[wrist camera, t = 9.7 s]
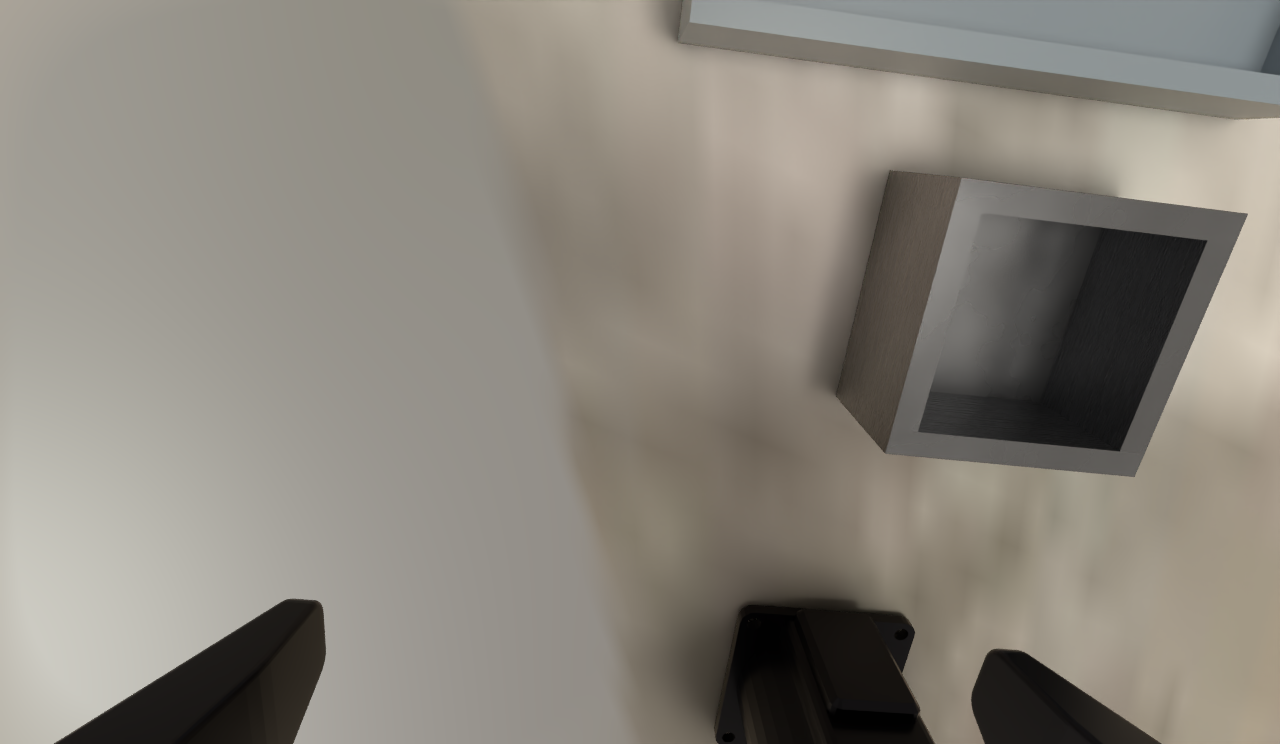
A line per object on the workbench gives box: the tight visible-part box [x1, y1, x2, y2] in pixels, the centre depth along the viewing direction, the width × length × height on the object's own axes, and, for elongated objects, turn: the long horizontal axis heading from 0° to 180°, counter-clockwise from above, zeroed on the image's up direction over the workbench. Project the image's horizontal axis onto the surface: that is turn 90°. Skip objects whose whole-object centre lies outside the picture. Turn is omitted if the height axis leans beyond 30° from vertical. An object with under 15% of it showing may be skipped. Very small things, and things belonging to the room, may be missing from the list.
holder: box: [836, 171, 1248, 477], centre depth 18 cm, size 7×7×4 cm
